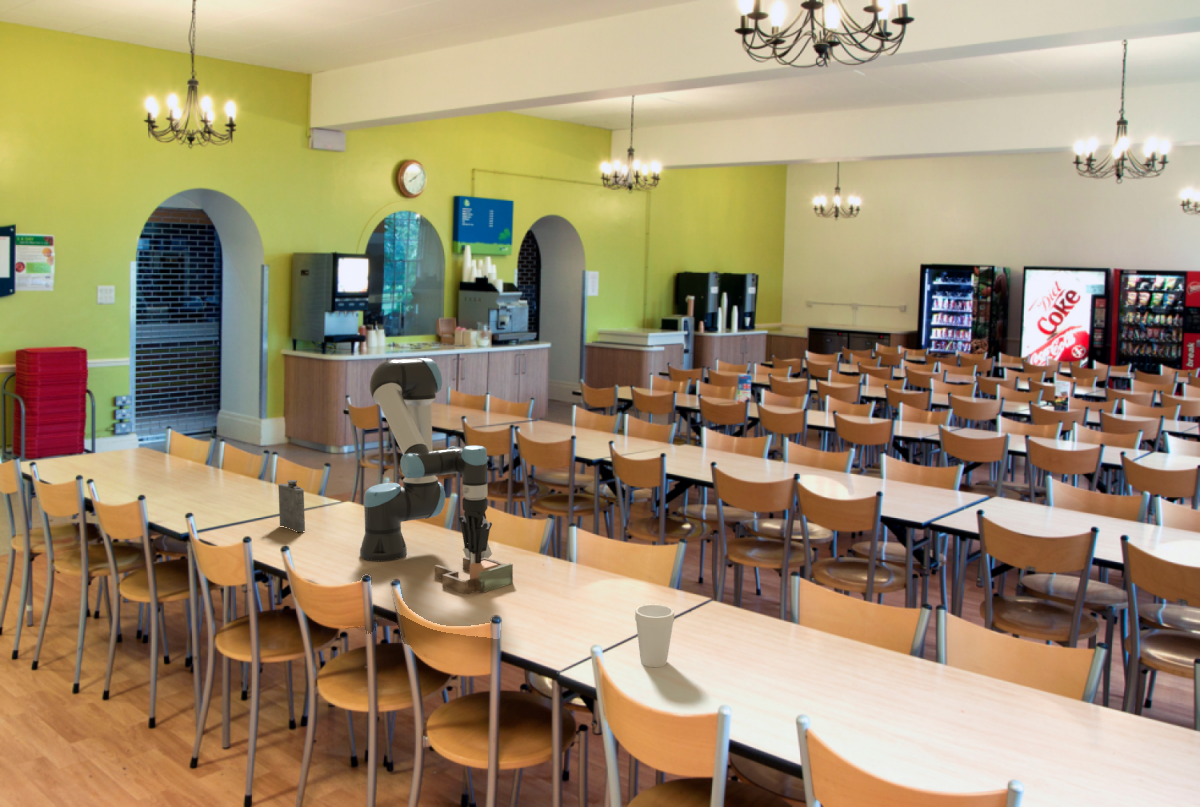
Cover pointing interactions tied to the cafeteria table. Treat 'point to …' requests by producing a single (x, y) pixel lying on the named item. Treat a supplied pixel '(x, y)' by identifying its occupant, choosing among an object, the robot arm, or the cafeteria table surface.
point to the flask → (291, 506)
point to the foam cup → (654, 633)
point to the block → (480, 568)
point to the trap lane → (484, 583)
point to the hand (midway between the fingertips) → (475, 572)
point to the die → (483, 555)
